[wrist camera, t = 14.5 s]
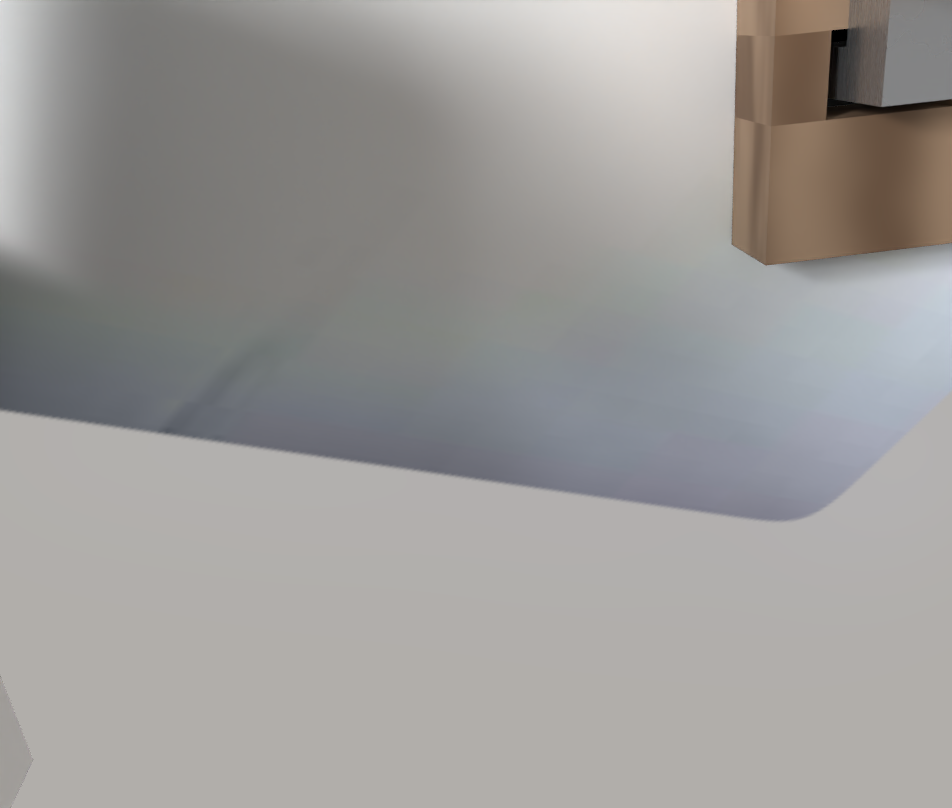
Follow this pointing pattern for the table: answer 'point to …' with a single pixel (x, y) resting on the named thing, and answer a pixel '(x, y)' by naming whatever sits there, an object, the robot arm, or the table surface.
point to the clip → (894, 53)
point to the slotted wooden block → (827, 148)
